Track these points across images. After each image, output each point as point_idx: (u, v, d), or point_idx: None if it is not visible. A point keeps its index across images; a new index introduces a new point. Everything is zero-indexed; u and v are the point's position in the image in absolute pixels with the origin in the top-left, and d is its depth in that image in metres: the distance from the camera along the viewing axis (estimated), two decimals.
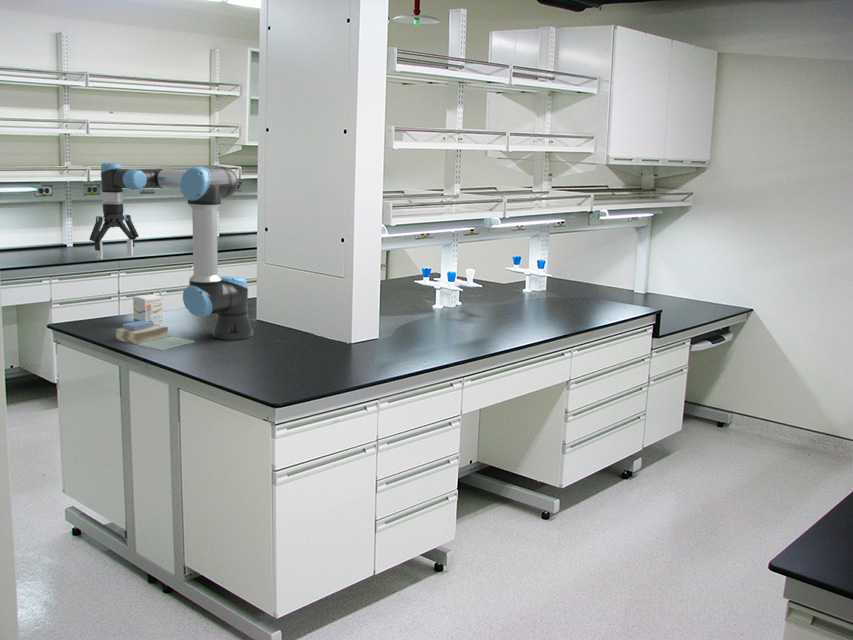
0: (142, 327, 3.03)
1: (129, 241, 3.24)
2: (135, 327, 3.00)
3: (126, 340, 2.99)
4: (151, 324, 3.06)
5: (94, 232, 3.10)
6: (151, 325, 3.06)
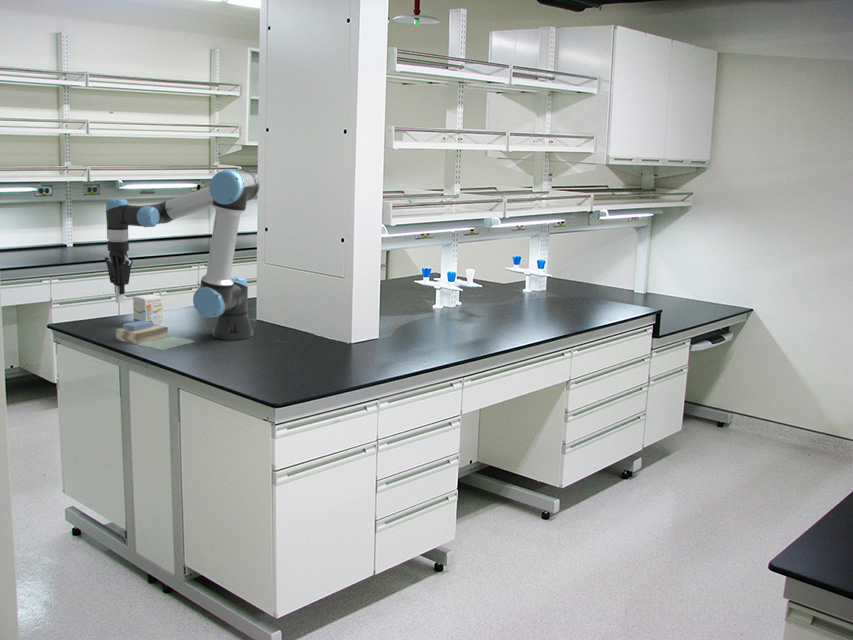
0: (142, 327, 3.03)
1: None
2: (135, 327, 3.00)
3: (126, 340, 2.99)
4: (151, 324, 3.06)
5: None
6: (151, 325, 3.06)
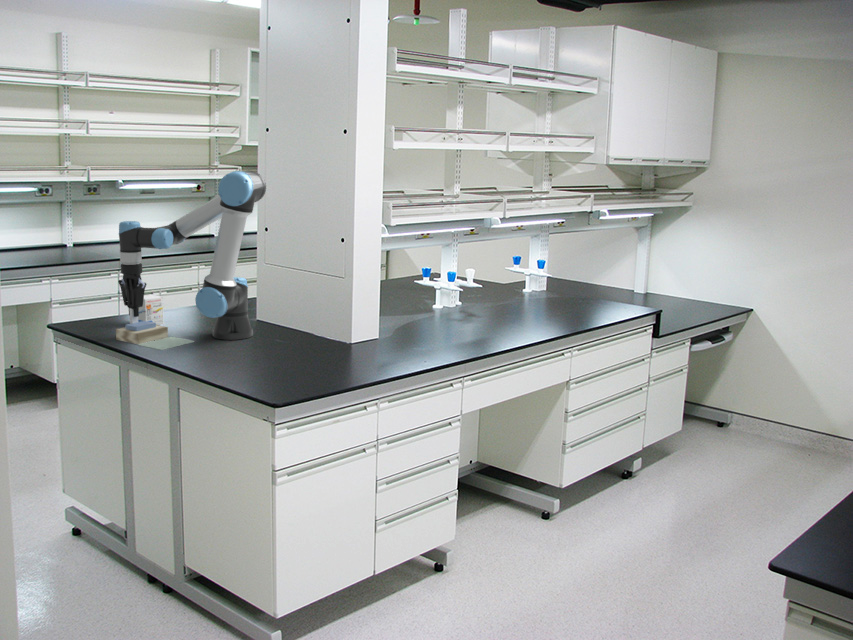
0: (145, 327, 3.02)
1: None
2: (138, 327, 2.99)
3: (126, 340, 2.99)
4: (154, 324, 3.05)
5: None
6: (154, 325, 3.06)
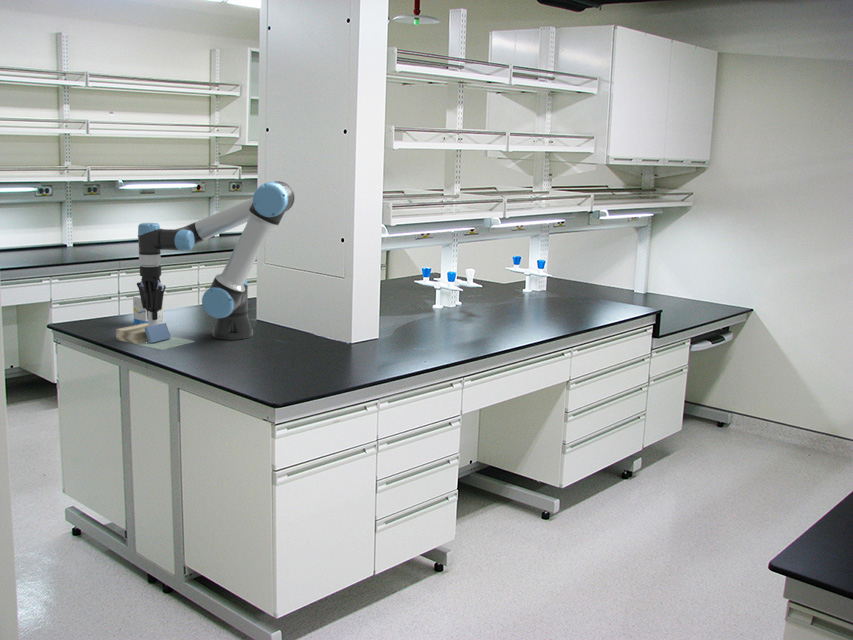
0: None
1: None
2: (152, 342, 2.96)
3: (126, 340, 2.99)
4: (168, 338, 3.03)
5: None
6: None
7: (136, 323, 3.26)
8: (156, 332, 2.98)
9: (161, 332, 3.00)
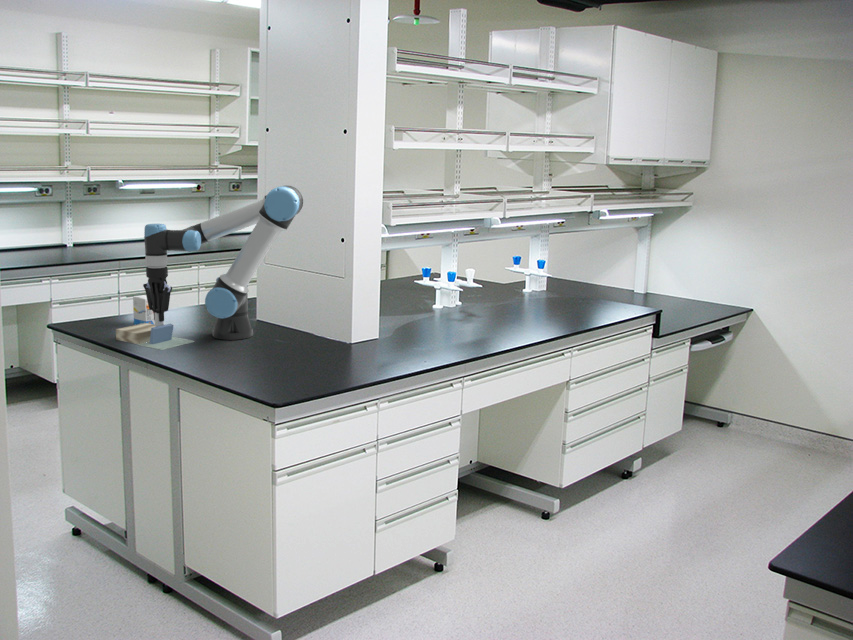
0: None
1: None
2: None
3: (126, 340, 2.99)
4: None
5: None
6: None
7: (136, 323, 3.26)
8: (160, 334, 2.97)
9: (165, 334, 2.99)
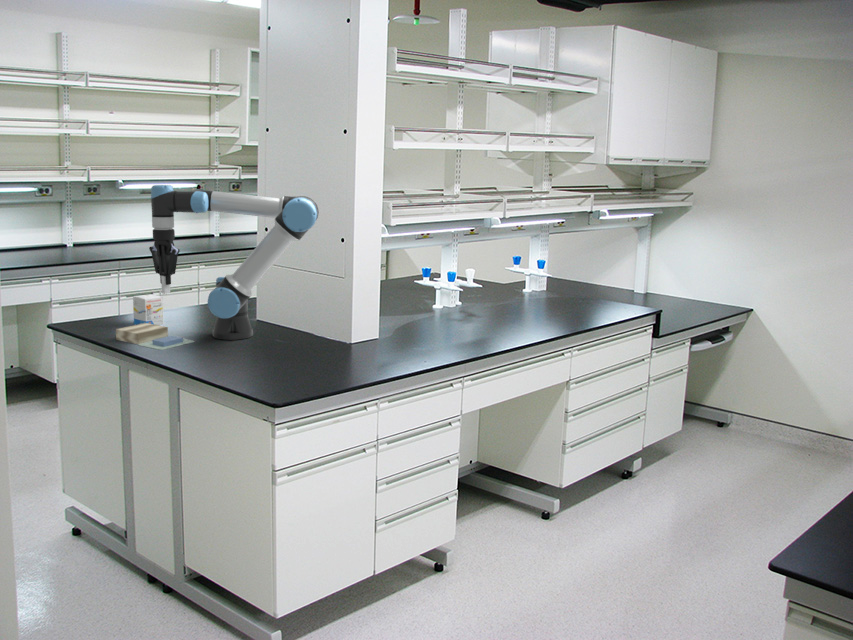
0: None
1: None
2: None
3: (126, 340, 2.99)
4: None
5: None
6: None
7: (136, 323, 3.26)
8: None
9: None
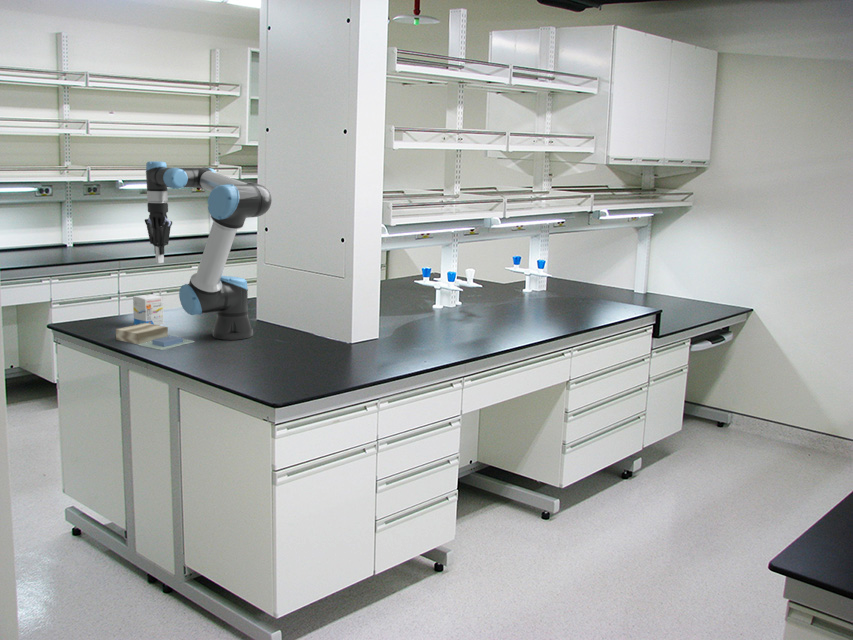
0: None
1: None
2: None
3: (126, 340, 2.99)
4: None
5: None
6: None
7: (136, 323, 3.26)
8: None
9: None
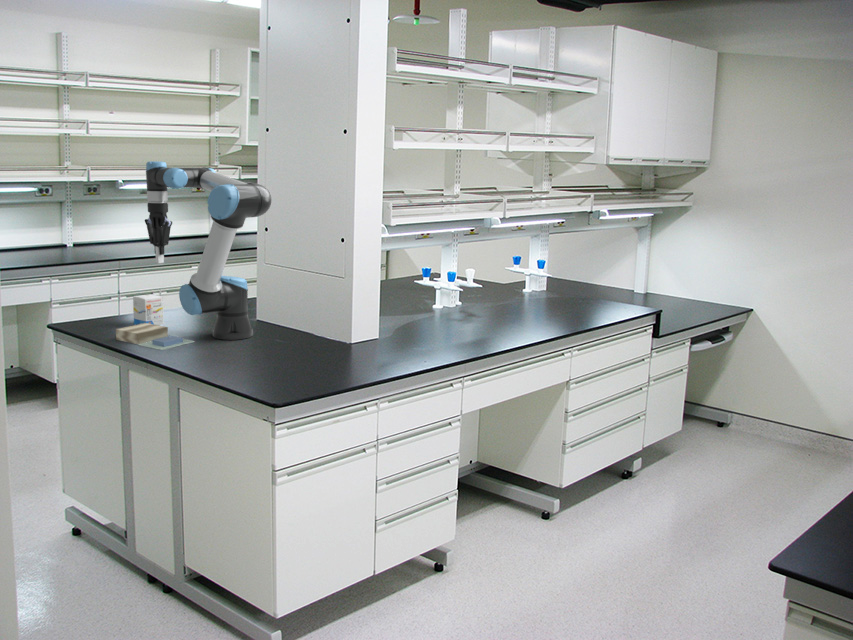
0: None
1: None
2: None
3: (126, 340, 2.99)
4: None
5: None
6: None
7: (136, 323, 3.26)
8: None
9: None
